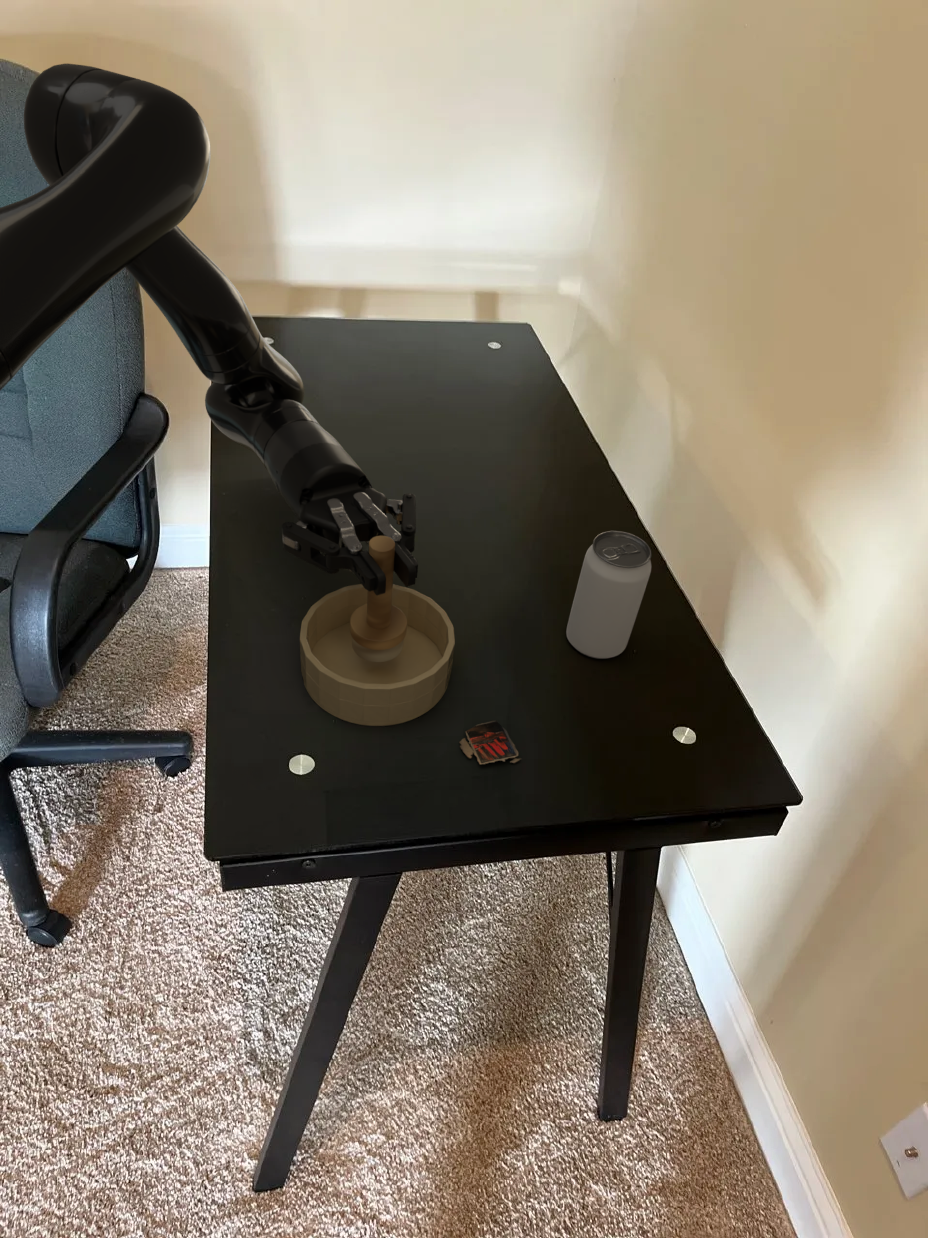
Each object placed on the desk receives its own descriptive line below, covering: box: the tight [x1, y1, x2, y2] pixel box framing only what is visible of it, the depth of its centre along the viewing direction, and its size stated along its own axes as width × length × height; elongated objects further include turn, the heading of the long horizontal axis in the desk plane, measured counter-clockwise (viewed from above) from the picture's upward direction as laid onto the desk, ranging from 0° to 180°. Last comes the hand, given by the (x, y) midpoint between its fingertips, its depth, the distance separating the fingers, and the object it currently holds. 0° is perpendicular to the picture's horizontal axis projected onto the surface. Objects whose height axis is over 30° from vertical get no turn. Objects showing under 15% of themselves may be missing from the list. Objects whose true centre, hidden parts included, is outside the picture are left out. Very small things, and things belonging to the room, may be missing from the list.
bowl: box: [299, 583, 456, 727], centre depth 78 cm, size 14×14×5 cm
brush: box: [350, 536, 407, 662], centre depth 74 cm, size 5×5×12 cm
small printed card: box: [458, 720, 522, 765], centre depth 74 cm, size 5×5×1 cm
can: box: [565, 530, 652, 660], centre depth 82 cm, size 6×6×12 cm
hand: (397, 581), depth 69 cm, fingers closed on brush
